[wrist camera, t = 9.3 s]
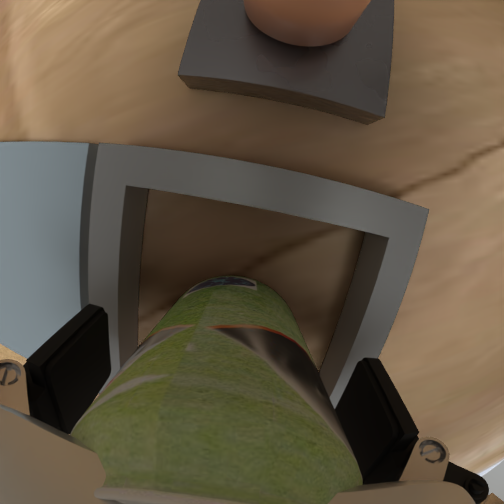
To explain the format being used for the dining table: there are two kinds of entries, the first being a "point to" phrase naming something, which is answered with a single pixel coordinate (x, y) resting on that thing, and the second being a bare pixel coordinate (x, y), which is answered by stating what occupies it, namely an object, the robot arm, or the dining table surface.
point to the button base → (292, 61)
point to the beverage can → (220, 409)
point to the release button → (305, 19)
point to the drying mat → (43, 238)
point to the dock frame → (259, 196)
